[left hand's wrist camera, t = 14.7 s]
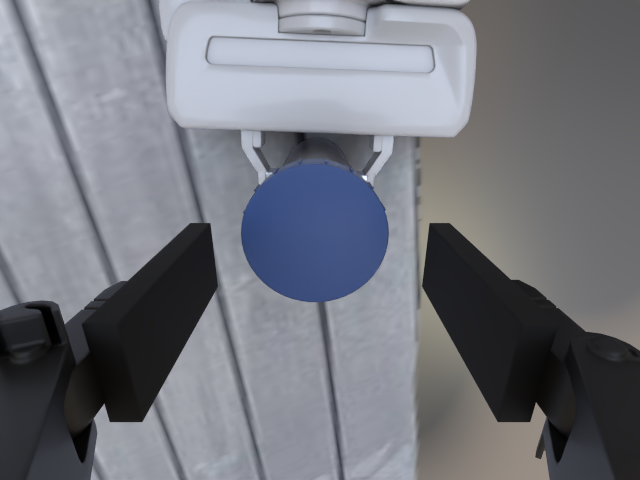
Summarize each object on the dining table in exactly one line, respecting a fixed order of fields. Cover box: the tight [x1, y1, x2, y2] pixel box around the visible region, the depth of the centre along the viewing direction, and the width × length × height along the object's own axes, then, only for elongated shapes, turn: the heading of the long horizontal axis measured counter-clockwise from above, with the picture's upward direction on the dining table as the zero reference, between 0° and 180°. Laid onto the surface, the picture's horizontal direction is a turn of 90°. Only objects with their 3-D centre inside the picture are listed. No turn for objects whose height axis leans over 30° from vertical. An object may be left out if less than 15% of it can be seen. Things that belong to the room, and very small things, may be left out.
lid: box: [241, 158, 389, 302], centre depth 16 cm, size 7×7×2 cm
